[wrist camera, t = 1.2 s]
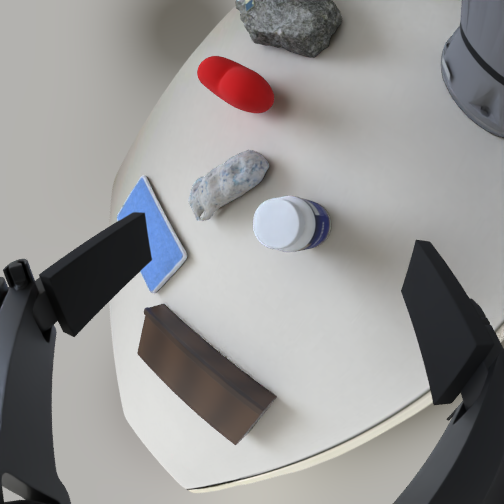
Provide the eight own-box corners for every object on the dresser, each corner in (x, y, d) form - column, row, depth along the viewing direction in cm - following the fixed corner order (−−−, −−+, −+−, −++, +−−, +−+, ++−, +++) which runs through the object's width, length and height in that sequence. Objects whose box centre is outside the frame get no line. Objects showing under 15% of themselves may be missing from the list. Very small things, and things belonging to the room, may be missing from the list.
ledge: (277, 395, 37) (262, 411, 34) (247, 433, 41) (233, 447, 37) (163, 302, 48) (144, 308, 44) (151, 348, 52) (134, 354, 48)
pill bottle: (312, 257, 33) (278, 268, 25) (280, 227, 35) (236, 228, 27) (341, 221, 31) (317, 218, 23) (306, 192, 33) (270, 179, 25)
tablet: (119, 216, 54) (114, 216, 53) (147, 173, 48) (141, 172, 47) (156, 294, 49) (150, 295, 48) (192, 255, 44) (186, 256, 42)
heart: (225, 99, 38) (181, 75, 29) (245, 73, 36) (205, 44, 27) (276, 135, 34) (234, 110, 26) (301, 105, 32) (265, 71, 24)
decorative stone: (256, 138, 36) (236, 128, 32) (280, 176, 35) (261, 169, 30) (194, 192, 42) (171, 189, 38) (210, 228, 41) (187, 228, 37)
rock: (371, 13, 23) (335, -24, 17) (320, 80, 33) (275, 60, 26) (291, -18, 28) (250, -41, 22) (254, 38, 38) (210, 23, 31)
